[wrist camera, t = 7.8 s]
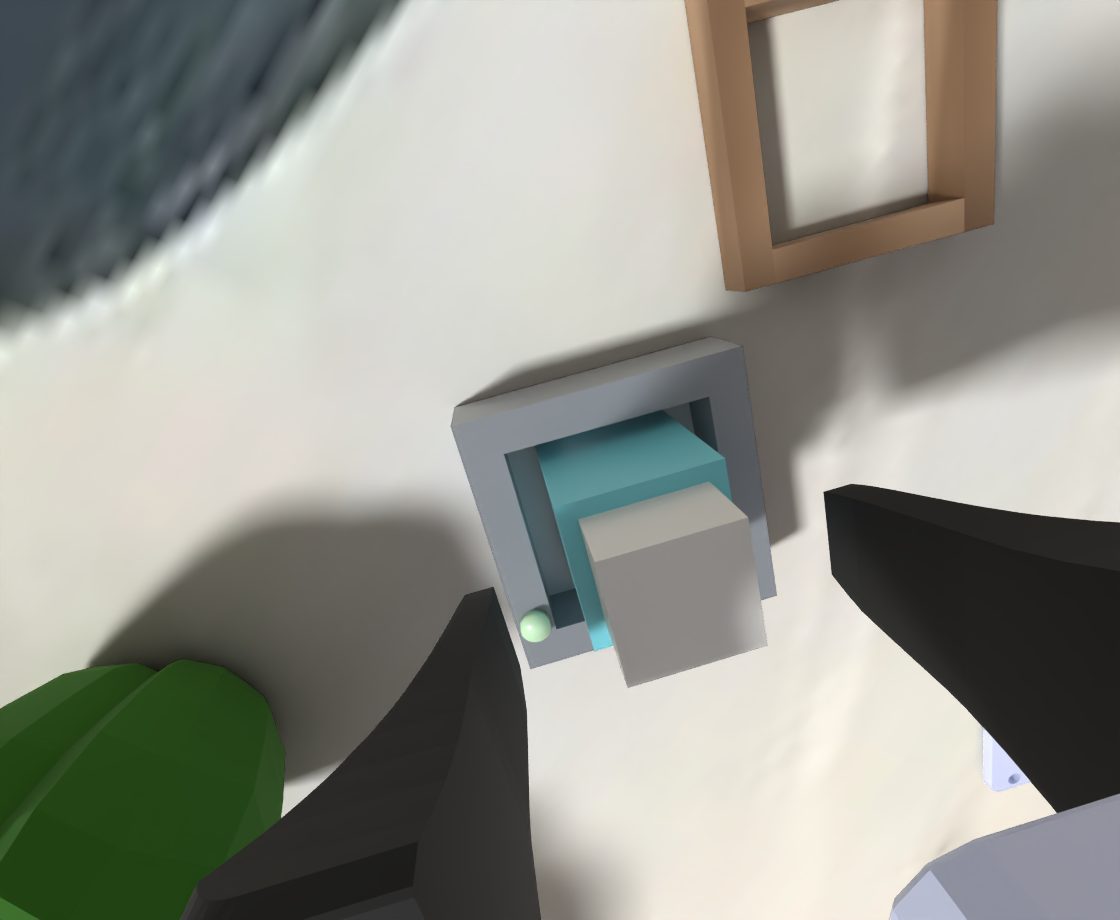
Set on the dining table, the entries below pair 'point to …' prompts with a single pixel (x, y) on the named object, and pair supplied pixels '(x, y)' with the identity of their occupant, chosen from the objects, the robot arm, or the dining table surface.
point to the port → (577, 406)
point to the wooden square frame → (953, 207)
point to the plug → (654, 545)
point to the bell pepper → (131, 789)
